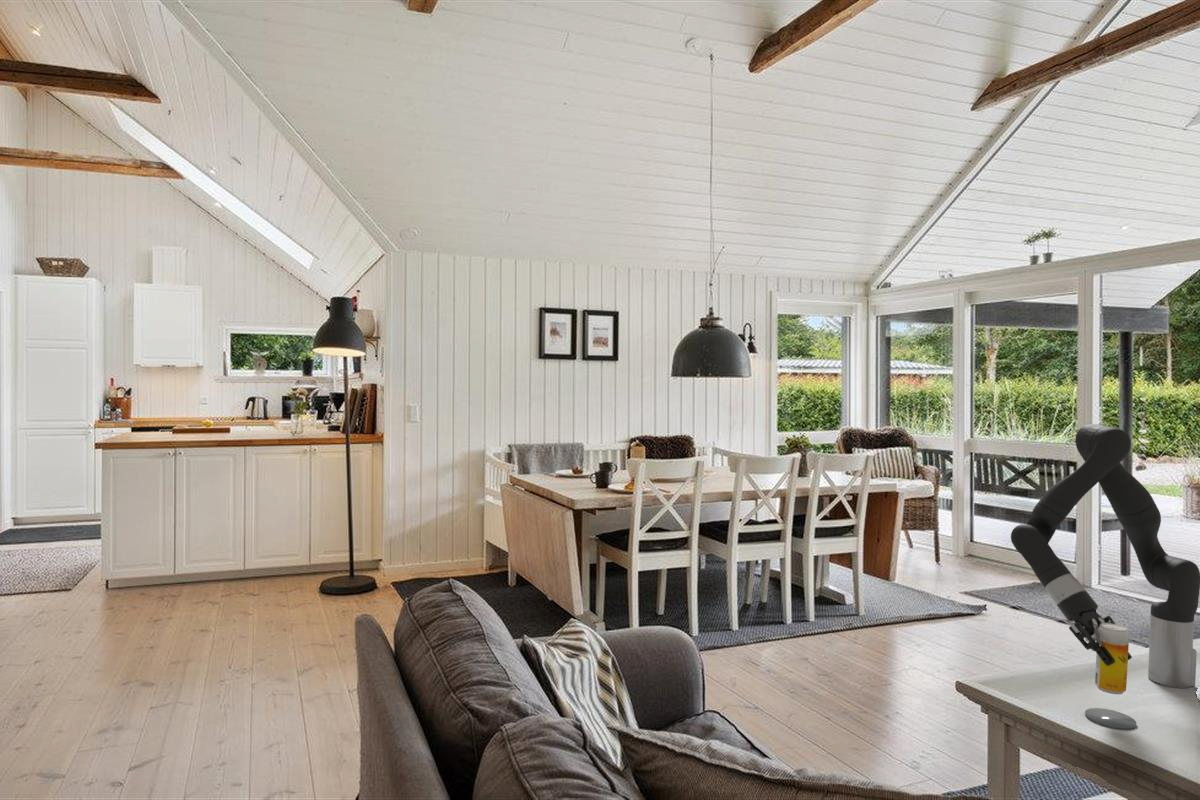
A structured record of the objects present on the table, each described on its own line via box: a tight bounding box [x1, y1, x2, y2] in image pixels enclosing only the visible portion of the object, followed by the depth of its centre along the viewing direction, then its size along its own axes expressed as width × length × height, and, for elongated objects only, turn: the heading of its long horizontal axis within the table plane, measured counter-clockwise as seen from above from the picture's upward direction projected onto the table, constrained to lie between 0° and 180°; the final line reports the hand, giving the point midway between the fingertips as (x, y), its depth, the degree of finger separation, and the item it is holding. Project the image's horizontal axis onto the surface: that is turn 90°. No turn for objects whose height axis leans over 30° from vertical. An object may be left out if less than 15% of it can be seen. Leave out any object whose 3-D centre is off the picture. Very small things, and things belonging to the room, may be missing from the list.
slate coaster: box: [1084, 707, 1137, 731], centre depth 178 cm, size 10×10×1 cm
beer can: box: [1094, 623, 1130, 695], centre depth 177 cm, size 6×6×15 cm
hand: (1119, 661), depth 176 cm, fingers closed on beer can, 6 cm apart
